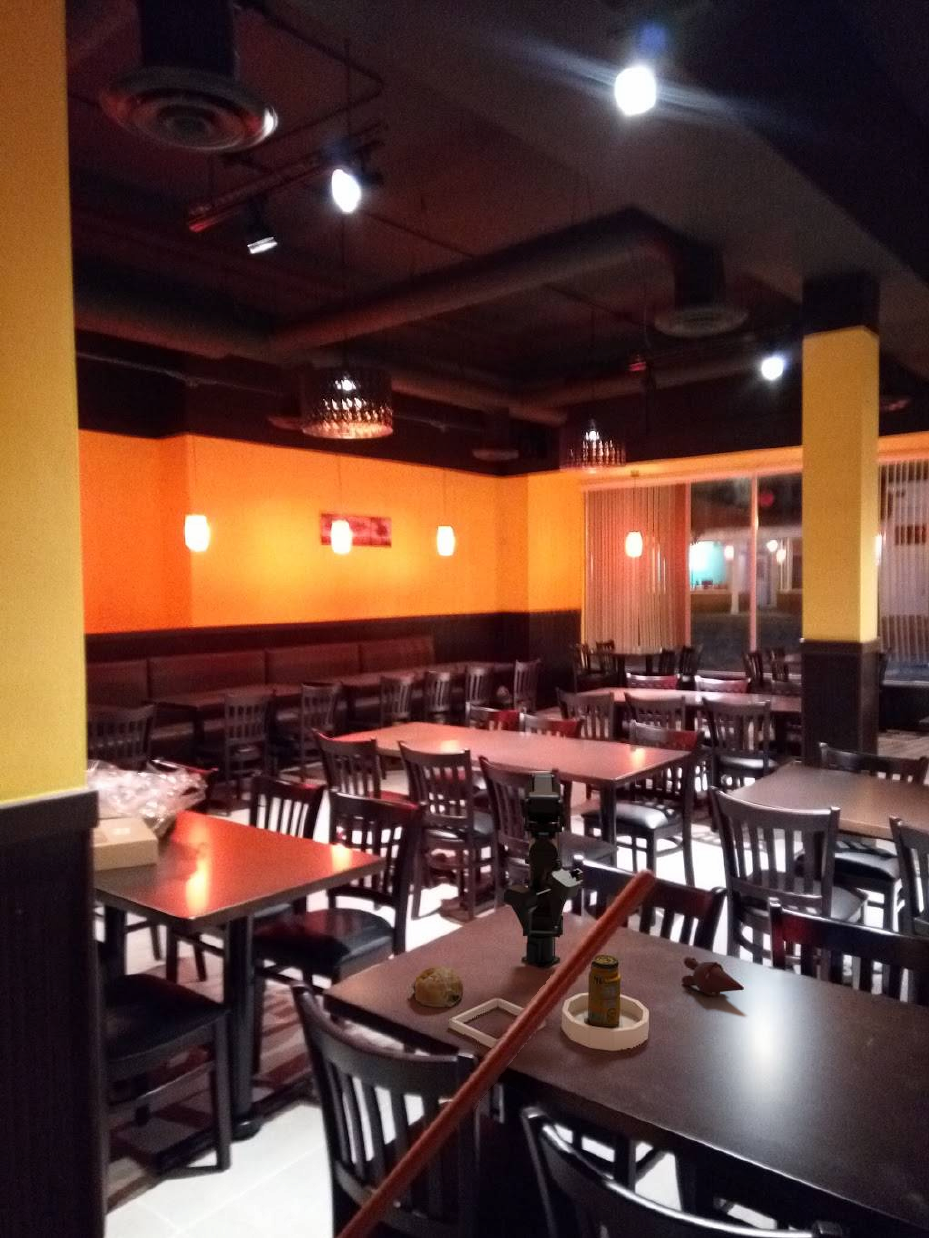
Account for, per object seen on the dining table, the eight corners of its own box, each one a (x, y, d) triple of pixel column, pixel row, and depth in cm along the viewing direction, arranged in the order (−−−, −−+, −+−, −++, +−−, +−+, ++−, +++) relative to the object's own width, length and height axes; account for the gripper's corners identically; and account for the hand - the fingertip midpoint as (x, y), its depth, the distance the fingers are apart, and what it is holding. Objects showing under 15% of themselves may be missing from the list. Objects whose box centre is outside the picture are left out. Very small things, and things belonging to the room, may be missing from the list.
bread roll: (433, 1028, 177) (447, 997, 175) (398, 994, 182) (411, 963, 180) (463, 1010, 185) (477, 980, 182) (429, 977, 190) (442, 948, 188)
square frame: (497, 1004, 180) (497, 996, 179) (545, 1025, 171) (545, 1017, 171) (448, 1027, 170) (448, 1019, 170) (497, 1051, 161) (497, 1042, 161)
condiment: (621, 1014, 174) (621, 953, 173) (624, 1035, 165) (624, 971, 165) (583, 1012, 174) (584, 951, 174) (584, 1032, 166) (585, 969, 166)
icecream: (755, 970, 182) (695, 953, 194) (733, 969, 178) (674, 952, 189) (752, 1006, 180) (692, 986, 192) (730, 1006, 176) (670, 986, 188)
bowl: (595, 1001, 181) (596, 984, 181) (664, 1028, 170) (664, 1010, 170) (545, 1028, 170) (546, 1010, 170) (616, 1059, 158) (616, 1039, 158)
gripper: (544, 872, 173) (543, 952, 173) (601, 853, 186) (600, 927, 187) (501, 860, 181) (500, 936, 181) (559, 843, 194) (558, 914, 194)
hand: (542, 929), depth 186 cm, fingers open, 9 cm apart
